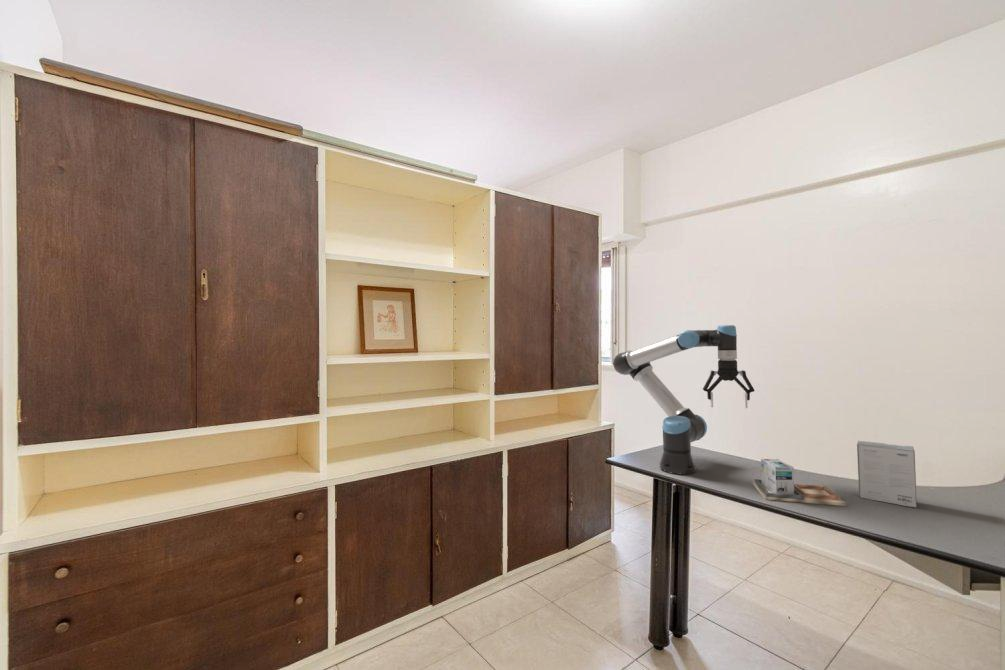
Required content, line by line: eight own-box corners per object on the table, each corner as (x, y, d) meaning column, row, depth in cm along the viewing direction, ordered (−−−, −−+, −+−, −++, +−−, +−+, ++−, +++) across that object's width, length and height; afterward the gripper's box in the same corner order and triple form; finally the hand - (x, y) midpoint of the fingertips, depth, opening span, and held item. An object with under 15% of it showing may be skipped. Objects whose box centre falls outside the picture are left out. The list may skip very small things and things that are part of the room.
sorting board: (765, 499, 155) (765, 493, 155) (753, 484, 170) (753, 478, 170) (845, 506, 148) (845, 499, 148) (825, 489, 163) (825, 484, 163)
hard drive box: (916, 501, 150) (914, 446, 150) (917, 508, 144) (915, 451, 144) (859, 491, 160) (858, 439, 160) (858, 497, 155) (856, 443, 155)
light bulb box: (795, 495, 155) (794, 466, 155) (776, 495, 156) (775, 466, 156) (778, 485, 166) (777, 458, 166) (760, 485, 166) (760, 458, 166)
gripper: (698, 360, 186) (699, 407, 186) (761, 360, 179) (762, 409, 179) (695, 359, 194) (696, 405, 194) (756, 359, 186) (757, 406, 186)
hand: (728, 407), depth 186 cm, fingers open, 13 cm apart
